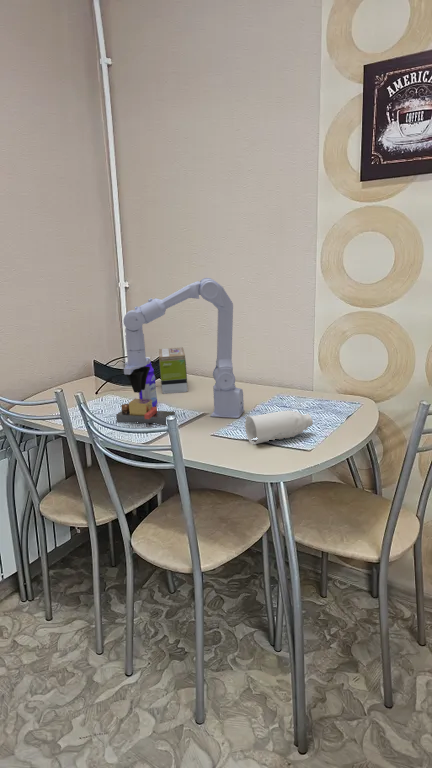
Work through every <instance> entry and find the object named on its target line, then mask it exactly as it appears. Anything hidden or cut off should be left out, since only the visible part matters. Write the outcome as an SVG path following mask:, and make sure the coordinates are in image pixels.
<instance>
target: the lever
mask: <svg viewBox="0 0 432 768" xmlns="http://www.w3.org/2000/svg"><path fill="white" fill-rule="evenodd" d="M157 411H158V407H157V406H155V407H151V410H150V411H148V412H147V413H146V414H145V415H144V416H145V419H150V418H151V417H152V416H153V415H155V414H157Z"/></svg>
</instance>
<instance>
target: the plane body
mask: <svg viewBox="0 0 432 768" xmlns="http://www.w3.org/2000/svg"><path fill="white" fill-rule="evenodd" d="M115 415H116V416H115V417H116V423H125V422H136V423H135V424H140V423H157V424H162V425H161V426H167V425H166V417H167V416H169V415H175V416H176V412H175V411H167V410H165V411H164V410H157V414H155V415H153V416H152V417H151V418H150V419H145V416H143V415H130V411H129V403H123V404H121V410H120V412H118V413H117V414H115ZM137 422H138V423H137Z"/></svg>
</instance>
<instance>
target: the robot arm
mask: <svg viewBox="0 0 432 768" xmlns="http://www.w3.org/2000/svg"><path fill="white" fill-rule="evenodd" d="M200 297H201V298H202V299H203V300H205V301H207V302H209V303H211V304H212V305H213V306H214V307H215V308H216V309H217V330H216V333H217V335H216V336H217V339H216V340H217V342H216V358H215V359H216V360H215V367H214V368H213V371H212V376H213V379H214V380H215V381H214V382H215V383H214V385H213V407H214V408H213V412H212V413H211V414H210V417H213V418H214V417H216V418H228V419H229V418H230V419H231V418H232V419H239V418H240V417H241V416H242V414H243V413H244V412H245V407H244V405H245V403H244V401H245V400H244V391H243V388H239V387H236V376H235V374H234V370H233V369H234V367H233V360H232V357H233V356H232V355H233V326H234V325H233V324H234V323H233V322H234V320H233V319H234V303H233V301H232V299H231V298H230V296H229V295H228V293H227V291H226V290H225V289H224V286H222V285H221V284H220V283H218V282H217V281H216V280H215V279H213V278H211V277H204V278H202V279H201V280H200V281H199V280H197V281H194V282H192V283H189V284H188V285H187V284H186V285H185V286H184V287H182V288H180V289H179V290H176V291H175V292H173V293H171V294H169V295H168V296H166V297H164V298H163V299H160V298H156V297H155V298H152V297H151V298H149V299H148V300H147V301H146V302H145V303H143V304H141V305H140V306H135V307H134V308H133V309H131V310H128V311H127V312H126V313H125V314H124V317H123V325H124V327H125V329H124V331H125V332H124V333H125V337H124V338H125V348H126V356H127V362H124V366H125V367H124V368H123V374H124V375H126V377H127V378H128V379H127V380H129V383H130V385H131V388H132V390H133V393H135V394H136V393H138V394H139V393H140V392H141V390H145V385H146V379H147V375H148V372H149V370H150V367H145V366H146V365H147V364H150V359H149V358H146V357H147V356H146V346H145V345H146V344H145V334H144V331H143V330H144V329H143V326H144V325H148V324H149V323H151V322H153V321H156V320H157V319H159V318H161V317H163V316H164V315H165V314H166V311H167V309H169V308H171V307H174V306H175V305H178V304H180V303H182V302H184V301H186V300H189V299H198V300H199V299H200Z"/></svg>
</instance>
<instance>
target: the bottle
mask: <svg viewBox="0 0 432 768" xmlns="http://www.w3.org/2000/svg"><path fill="white" fill-rule="evenodd" d="M146 358H149V359H150V364H147V365H146V366H145V367H150V370H149V372H148V375H147V379H146V385H145V390H141V392H140V393H138V399H151V400H152V407H157V404H158V398H157V397H158V396H157V386H156V385H157V384H156V376H155V373H154V372H155V370H154V367H153V366H152V360H151V357H150V356H146Z"/></svg>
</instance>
